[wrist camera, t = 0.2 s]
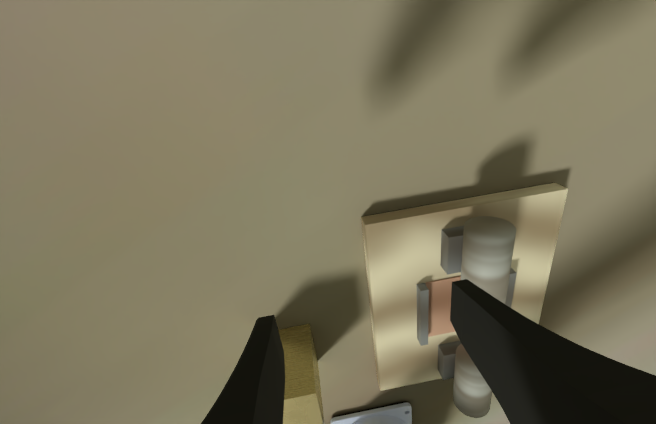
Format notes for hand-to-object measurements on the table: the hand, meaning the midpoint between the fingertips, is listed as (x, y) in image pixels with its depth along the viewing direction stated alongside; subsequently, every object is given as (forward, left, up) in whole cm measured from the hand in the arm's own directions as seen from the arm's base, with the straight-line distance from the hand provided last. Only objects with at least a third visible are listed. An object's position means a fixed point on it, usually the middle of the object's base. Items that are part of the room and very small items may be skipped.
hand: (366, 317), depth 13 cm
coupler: (-12, +5, -10) cm, 16 cm away
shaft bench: (-9, -9, -10) cm, 16 cm away
